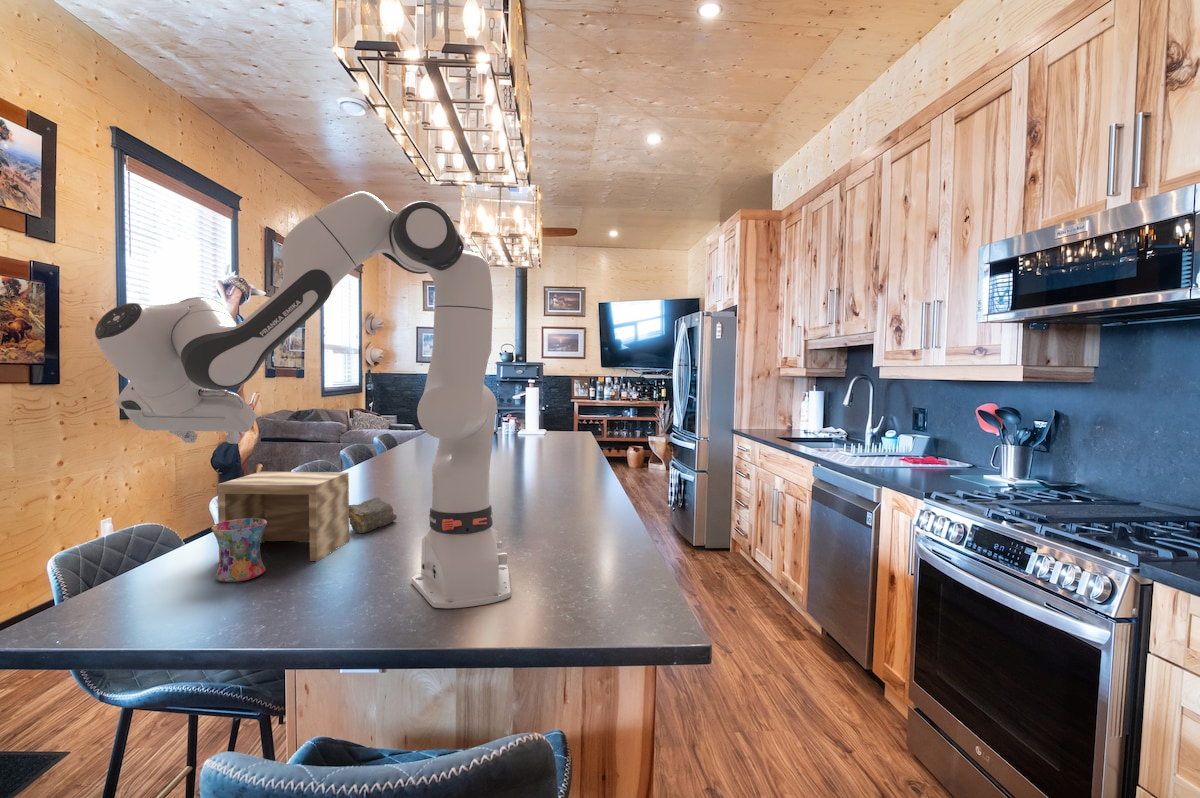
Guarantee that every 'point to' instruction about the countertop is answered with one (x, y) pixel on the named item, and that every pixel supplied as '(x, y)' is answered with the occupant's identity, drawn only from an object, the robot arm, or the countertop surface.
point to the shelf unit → (292, 507)
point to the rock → (370, 515)
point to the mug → (239, 549)
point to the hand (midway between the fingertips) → (214, 440)
